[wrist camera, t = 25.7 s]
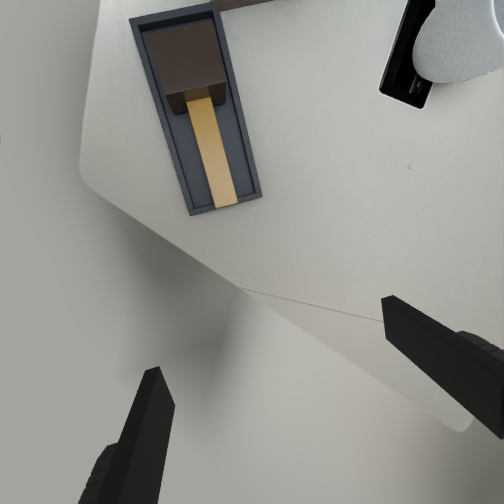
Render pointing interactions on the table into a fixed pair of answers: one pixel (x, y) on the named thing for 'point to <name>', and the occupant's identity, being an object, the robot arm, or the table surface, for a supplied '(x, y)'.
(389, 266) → the table surface
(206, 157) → the mallet
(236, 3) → the pedestal stand
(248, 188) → the tray
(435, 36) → the mug
